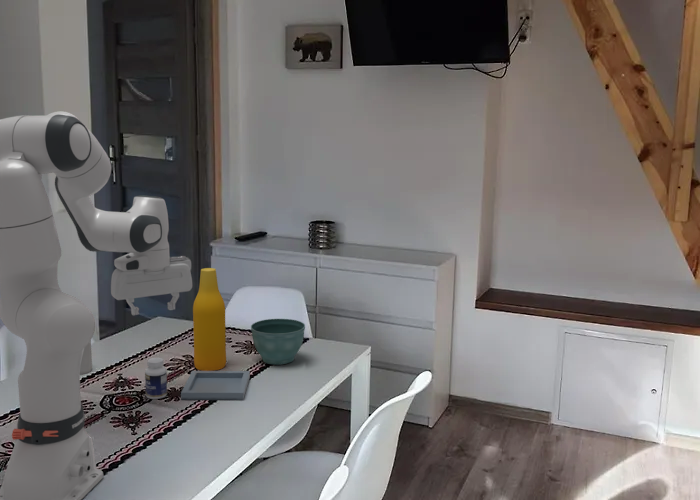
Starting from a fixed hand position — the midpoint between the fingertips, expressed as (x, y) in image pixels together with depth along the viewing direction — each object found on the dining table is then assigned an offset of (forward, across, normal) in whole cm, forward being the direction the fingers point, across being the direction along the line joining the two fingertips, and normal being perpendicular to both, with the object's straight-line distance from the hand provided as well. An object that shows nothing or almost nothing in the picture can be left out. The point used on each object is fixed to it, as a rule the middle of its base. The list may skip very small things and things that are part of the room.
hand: (153, 312), depth 182 cm
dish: (+23, -15, +4) cm, 28 cm away
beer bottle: (+23, -21, -13) cm, 34 cm away
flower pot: (+23, -40, -8) cm, 47 cm away
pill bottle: (+23, 0, 0) cm, 23 cm away
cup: (+23, +14, -30) cm, 40 cm away
